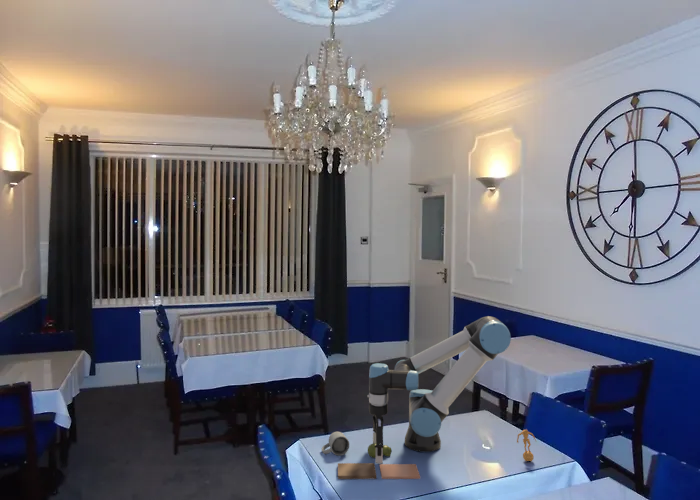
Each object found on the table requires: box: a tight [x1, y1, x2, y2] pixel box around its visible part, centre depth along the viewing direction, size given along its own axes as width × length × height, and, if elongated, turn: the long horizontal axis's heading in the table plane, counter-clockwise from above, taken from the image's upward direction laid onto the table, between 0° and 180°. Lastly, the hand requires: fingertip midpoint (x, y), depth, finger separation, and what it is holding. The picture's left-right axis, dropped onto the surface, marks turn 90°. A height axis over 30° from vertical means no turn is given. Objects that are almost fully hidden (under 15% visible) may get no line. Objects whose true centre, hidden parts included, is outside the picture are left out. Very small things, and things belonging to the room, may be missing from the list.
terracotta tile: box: [379, 463, 421, 480], centre depth 194 cm, size 14×10×1 cm
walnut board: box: [337, 462, 377, 480], centre depth 194 cm, size 14×10×1 cm
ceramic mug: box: [321, 431, 350, 456], centre depth 211 cm, size 11×8×8 cm
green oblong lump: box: [367, 442, 393, 459], centre depth 208 cm, size 6×5×10 cm
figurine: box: [516, 429, 537, 462], centre depth 206 cm, size 8×6×12 cm
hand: (377, 455), depth 208 cm, fingers open, 13 cm apart
